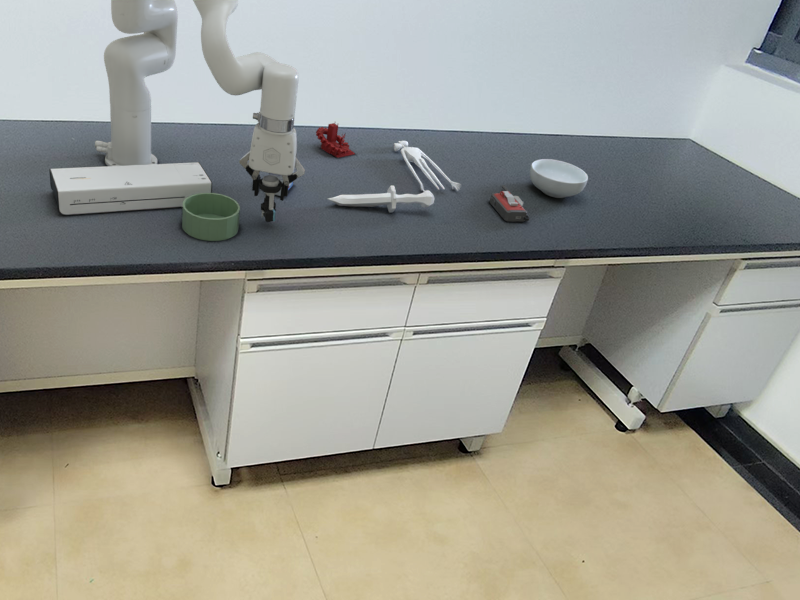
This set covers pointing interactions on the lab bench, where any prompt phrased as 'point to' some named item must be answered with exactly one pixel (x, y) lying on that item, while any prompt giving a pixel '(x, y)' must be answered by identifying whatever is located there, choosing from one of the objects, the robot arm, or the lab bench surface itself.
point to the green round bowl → (210, 216)
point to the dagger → (384, 199)
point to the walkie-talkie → (509, 206)
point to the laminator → (126, 187)
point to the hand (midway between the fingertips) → (269, 195)
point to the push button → (269, 196)
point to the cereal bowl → (557, 178)
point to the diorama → (333, 141)
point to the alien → (420, 163)
